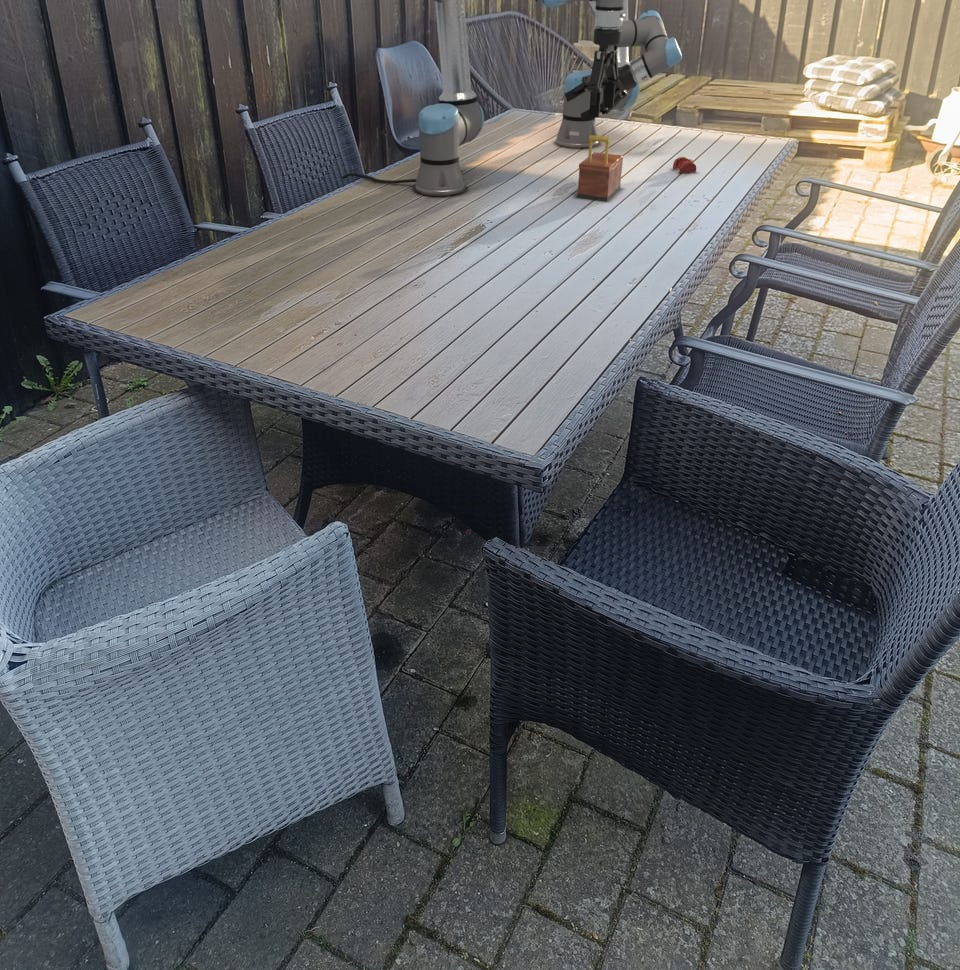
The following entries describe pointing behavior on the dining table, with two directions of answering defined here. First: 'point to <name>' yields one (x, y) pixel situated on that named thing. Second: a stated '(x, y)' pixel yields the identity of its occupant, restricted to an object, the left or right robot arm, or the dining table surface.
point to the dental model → (684, 165)
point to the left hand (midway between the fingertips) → (601, 112)
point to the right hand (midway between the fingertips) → (574, 108)
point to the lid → (600, 156)
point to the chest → (599, 183)
